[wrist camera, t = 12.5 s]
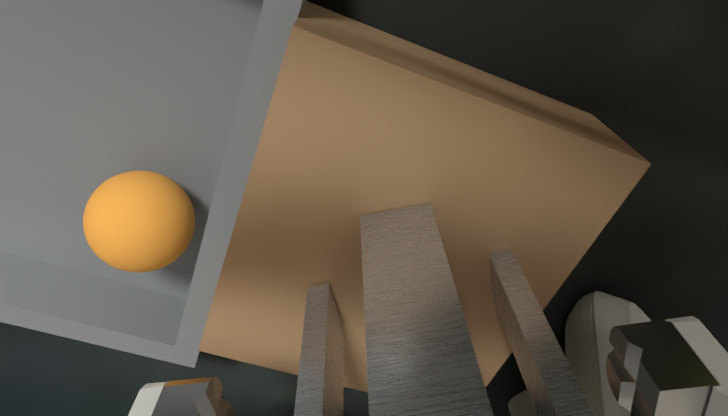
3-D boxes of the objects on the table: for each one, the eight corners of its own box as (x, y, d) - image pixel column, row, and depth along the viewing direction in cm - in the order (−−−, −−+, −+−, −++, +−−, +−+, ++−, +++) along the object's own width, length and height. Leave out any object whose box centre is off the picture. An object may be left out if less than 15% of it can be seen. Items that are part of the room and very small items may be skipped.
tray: (-231, -324, 10) (-392, -390, 8) (331, -80, 12) (325, -80, 10) (-142, 224, 17) (-216, 270, 14) (212, 316, 19) (194, 367, 17)
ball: (102, 159, 12) (216, 178, 14) (83, 163, 15) (183, 179, 17) (85, 278, 12) (202, 281, 14) (68, 262, 15) (171, 267, 17)
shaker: (506, 186, 12) (692, 498, 6) (518, 345, 15) (652, 678, 8) (287, 230, 13) (223, 566, 6) (339, 377, 15) (333, 715, 9)
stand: (307, 1, 13) (292, 26, 10) (591, 114, 15) (651, 164, 12) (224, 277, 18) (197, 350, 15) (447, 339, 20) (464, 415, 17)
